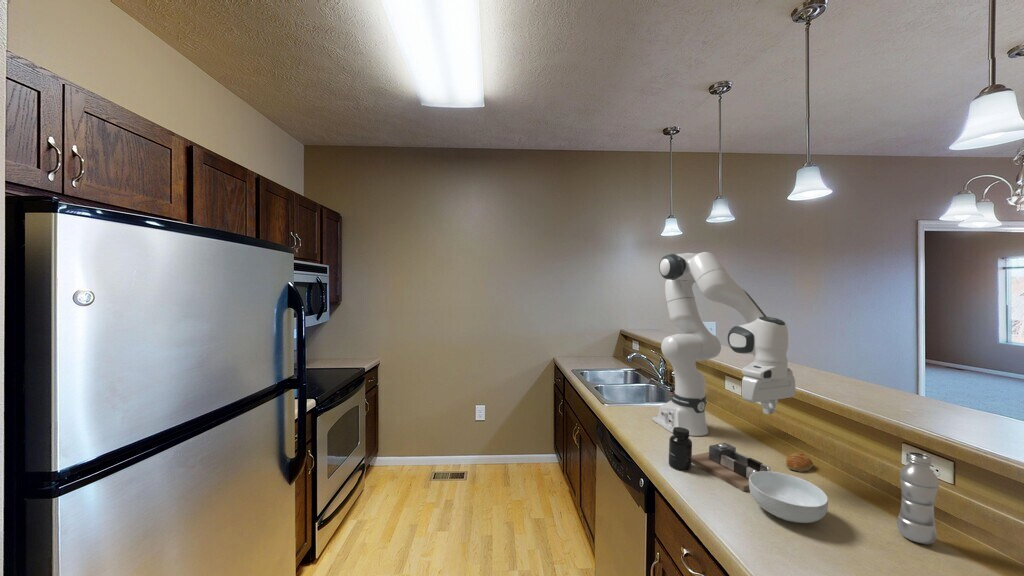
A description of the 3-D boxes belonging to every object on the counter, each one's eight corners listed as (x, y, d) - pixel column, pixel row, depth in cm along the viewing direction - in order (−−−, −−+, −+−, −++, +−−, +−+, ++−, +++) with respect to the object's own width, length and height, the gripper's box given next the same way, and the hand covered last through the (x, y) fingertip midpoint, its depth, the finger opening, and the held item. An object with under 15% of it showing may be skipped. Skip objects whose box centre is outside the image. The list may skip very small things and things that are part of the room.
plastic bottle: (888, 531, 94) (891, 449, 94) (913, 530, 95) (916, 449, 94) (918, 549, 88) (922, 461, 87) (945, 548, 88) (949, 461, 88)
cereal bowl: (735, 494, 109) (736, 469, 109) (795, 496, 109) (796, 471, 109) (774, 533, 92) (775, 504, 92) (845, 536, 92) (846, 506, 92)
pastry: (806, 476, 121) (806, 464, 121) (780, 468, 126) (781, 456, 126) (814, 467, 127) (814, 455, 127) (789, 460, 132) (789, 448, 132)
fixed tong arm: (720, 464, 123) (720, 454, 123) (722, 464, 124) (723, 454, 124) (754, 482, 113) (755, 471, 113) (757, 481, 113) (757, 470, 113)
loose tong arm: (733, 461, 126) (733, 451, 125) (736, 461, 126) (736, 451, 126) (768, 478, 115) (769, 468, 115) (771, 478, 115) (771, 467, 115)
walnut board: (687, 460, 129) (687, 456, 129) (720, 454, 135) (720, 449, 135) (743, 491, 111) (743, 486, 111) (778, 482, 116) (778, 477, 116)
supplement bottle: (665, 466, 125) (666, 429, 125) (672, 459, 130) (674, 423, 130) (687, 473, 120) (688, 435, 120) (694, 466, 125) (695, 429, 125)
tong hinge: (708, 459, 127) (709, 443, 127) (724, 456, 130) (725, 440, 130) (719, 464, 124) (719, 448, 123) (735, 461, 126) (735, 445, 126)
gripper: (781, 365, 128) (780, 406, 128) (738, 369, 120) (736, 413, 120) (802, 369, 122) (800, 413, 122) (757, 374, 114) (756, 420, 115)
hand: (768, 413), depth 121 cm, fingers closed
